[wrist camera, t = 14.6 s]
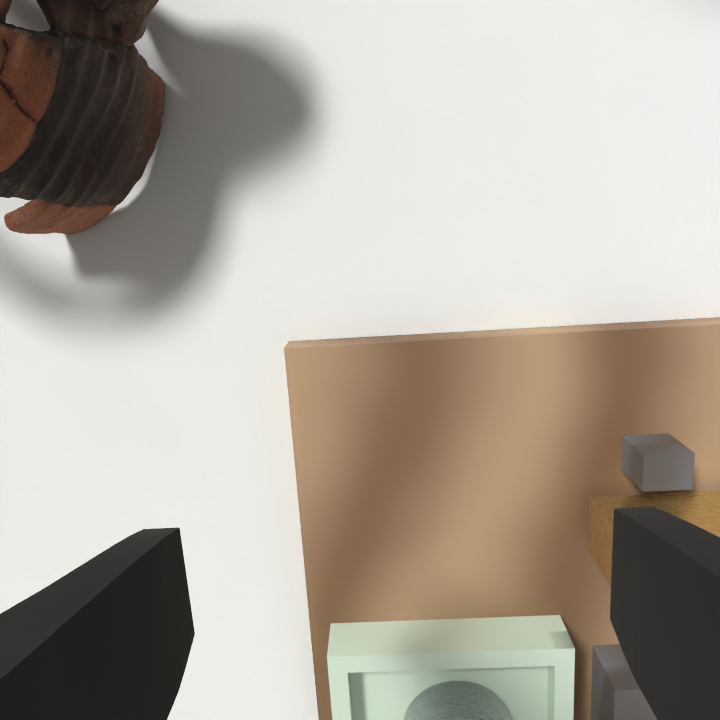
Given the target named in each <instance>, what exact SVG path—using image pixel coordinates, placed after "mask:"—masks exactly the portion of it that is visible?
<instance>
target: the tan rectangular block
mask: <svg viewBox="0 0 720 720" xmlns="http://www.w3.org/2000/svg"><path fill="white" fill-rule="evenodd" d="M641 507H653V508H656V509H659V510H662V511H664V512H667V513H669V514H672V515H674V516H676V517H679V518H681V519H683V520H685V521H687V522H689V523H692V524H694V525H696V526H698V527H700V528H702V529H704V530H706V531H708V532H710V533H712V534H714V535H716V536H718V537H720V491H714V492H691V493H669V494H646V495H624V496H601V497H589V527H588V551H589V552H590V554H591V556H592V557H593V559H594V560H595V562H596V564H597V565H598V567H599V568H600V570H601V572H602V573H603V575H604V576H605V578H606V580H607V581H608V583H609V585H610V586H611V572H612V545H613V517H614V509H618V508H641Z"/></svg>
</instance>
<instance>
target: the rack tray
mask: <svg viewBox="0 0 720 720" xmlns="http://www.w3.org/2000/svg"><path fill="white" fill-rule="evenodd" d="M327 664H328V675H329V687H330V698H331V709H332V720H404V716H405V713H406V710H407V708H408V706H409V705H410V703H411V702H412V701H413V700H414V698H415V697H416V696H417V695H419V694H420V693H421V692H422V691H424V690H426V689H427V688H429V687H431V686H433V685H436V684H439V683H443V682H447V681H468V682H473V683H477V684H479V685H482V686H484V687H486V688H488V689H490V690H491V691H493V692H494V693H496V694H497V695H498V696H499V697H500V698H501V699H502V701H503V702H504V703H505V705H506V706H507V708H508V711H509V713H510V717H511V720H573V716H574V669H575V647H574V645H573V643H572V641H571V639H570V636H569V634H568V632H567V630H566V627H565V625H564V623H563V621H562V619H561V616H560V615H546V616H519V617H492V618H465V619H438V620H411V621H384V622H357V623H331V625H330V634H329V643H328V652H327Z"/></svg>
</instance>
